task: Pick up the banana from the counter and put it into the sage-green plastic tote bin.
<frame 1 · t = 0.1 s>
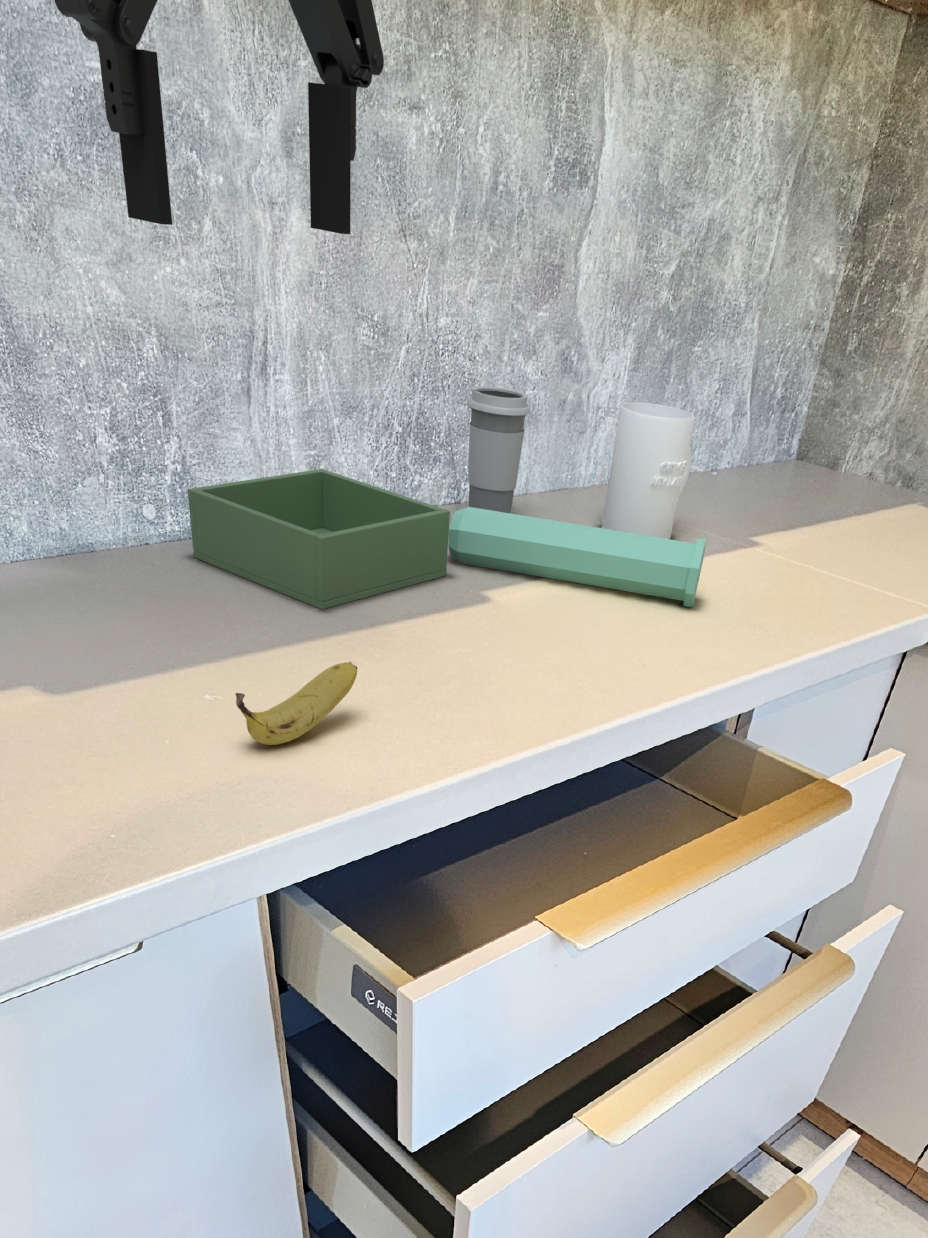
hand: (247, 227, 58), 25 cm above the countertop, tool pointing down, fingers open, 13 cm apart
banana: (299, 738, 68), on the countertop
mug: (645, 534, 116), on the countertop
bin: (322, 566, 94), on the countertop
cup: (488, 521, 113), on the countertop
container: (568, 582, 99), on the countertop
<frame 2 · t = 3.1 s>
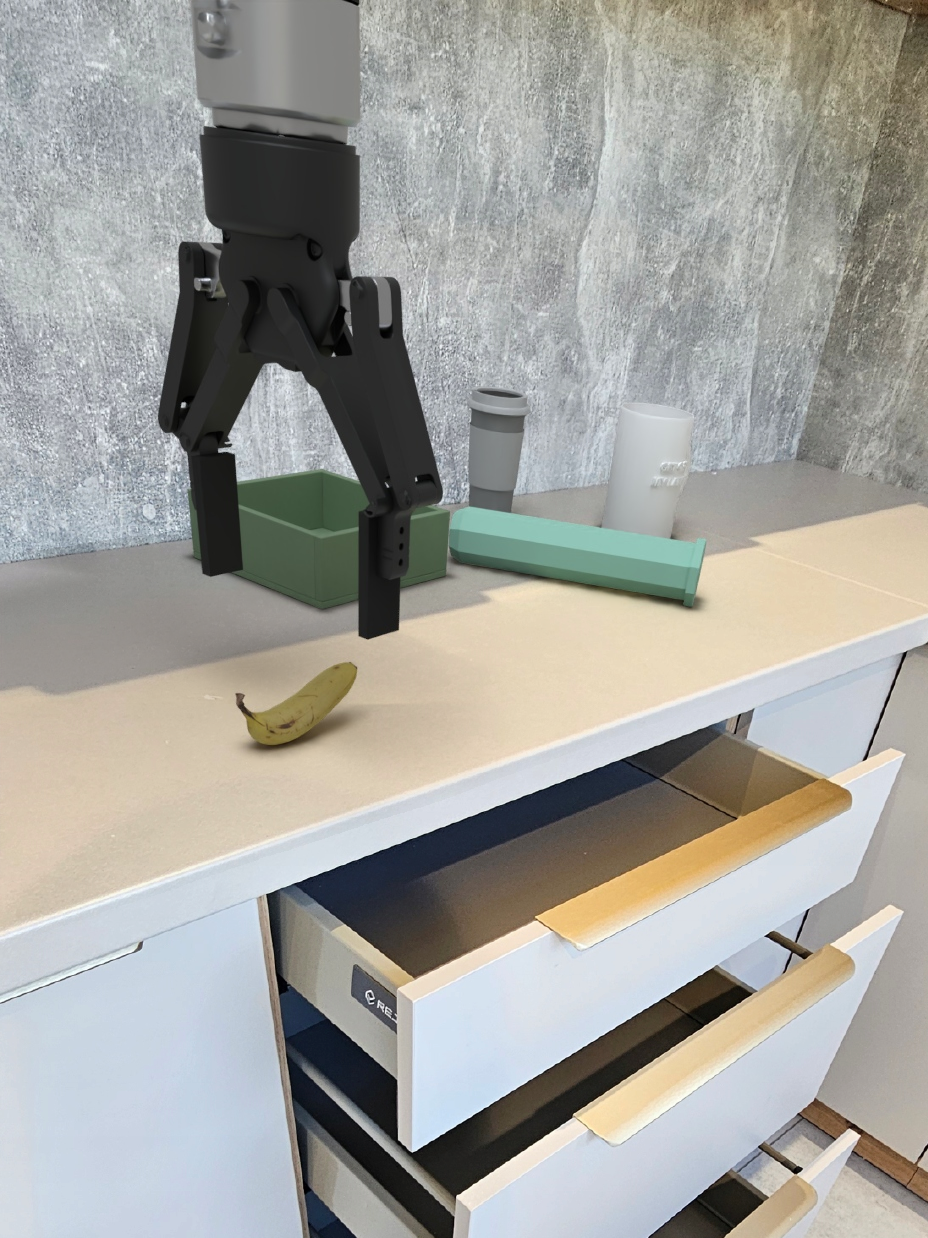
hand: (297, 602, 62), 9 cm above the countertop, tool pointing down, fingers open, 13 cm apart
nothing on the countertop moved.
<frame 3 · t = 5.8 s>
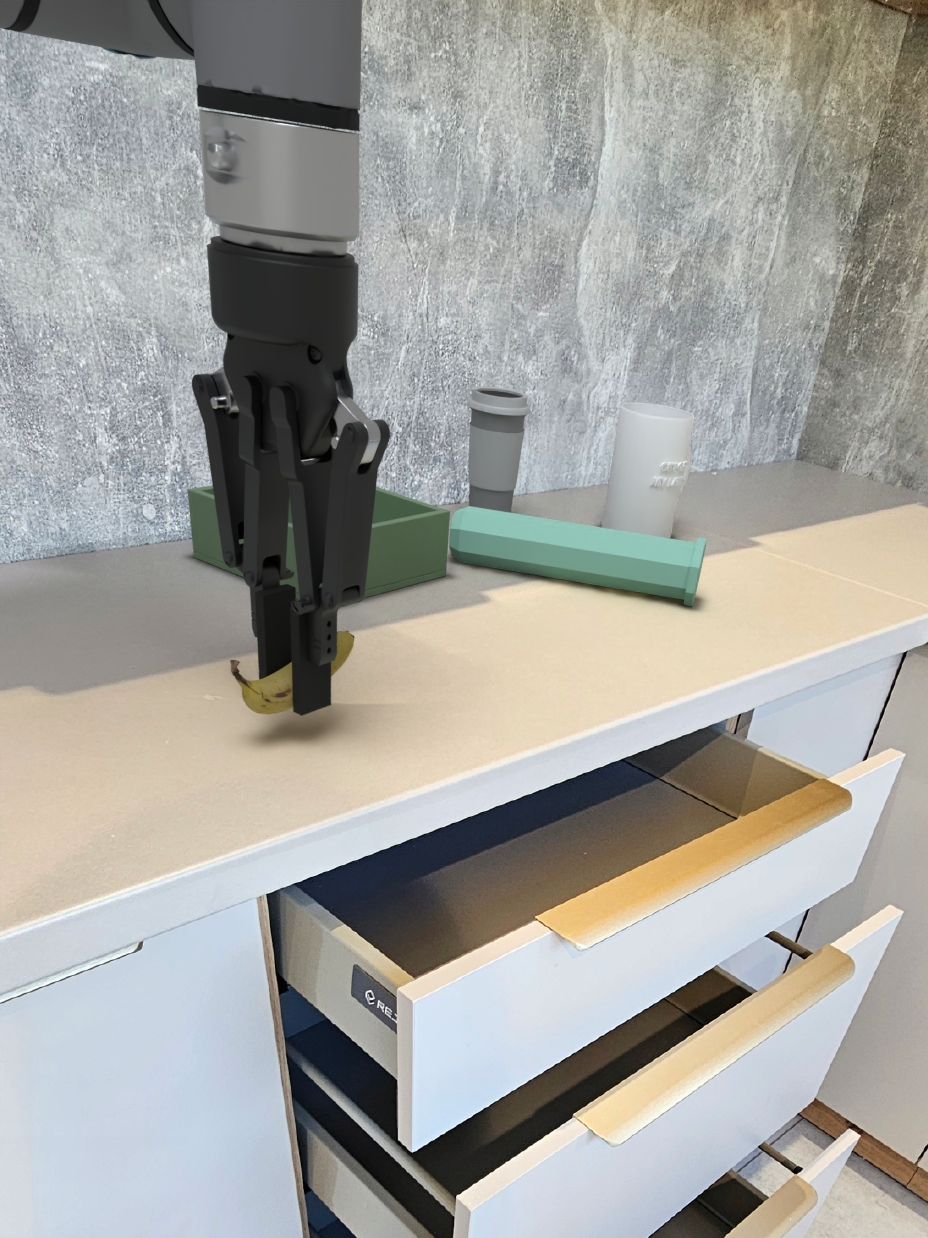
hand: (295, 699, 66), 2 cm above the countertop, tool pointing down, fingers closed on banana, 2 cm apart
banana: (295, 708, 67), point 2 cm above the countertop, touching gripper
everything else where it was.
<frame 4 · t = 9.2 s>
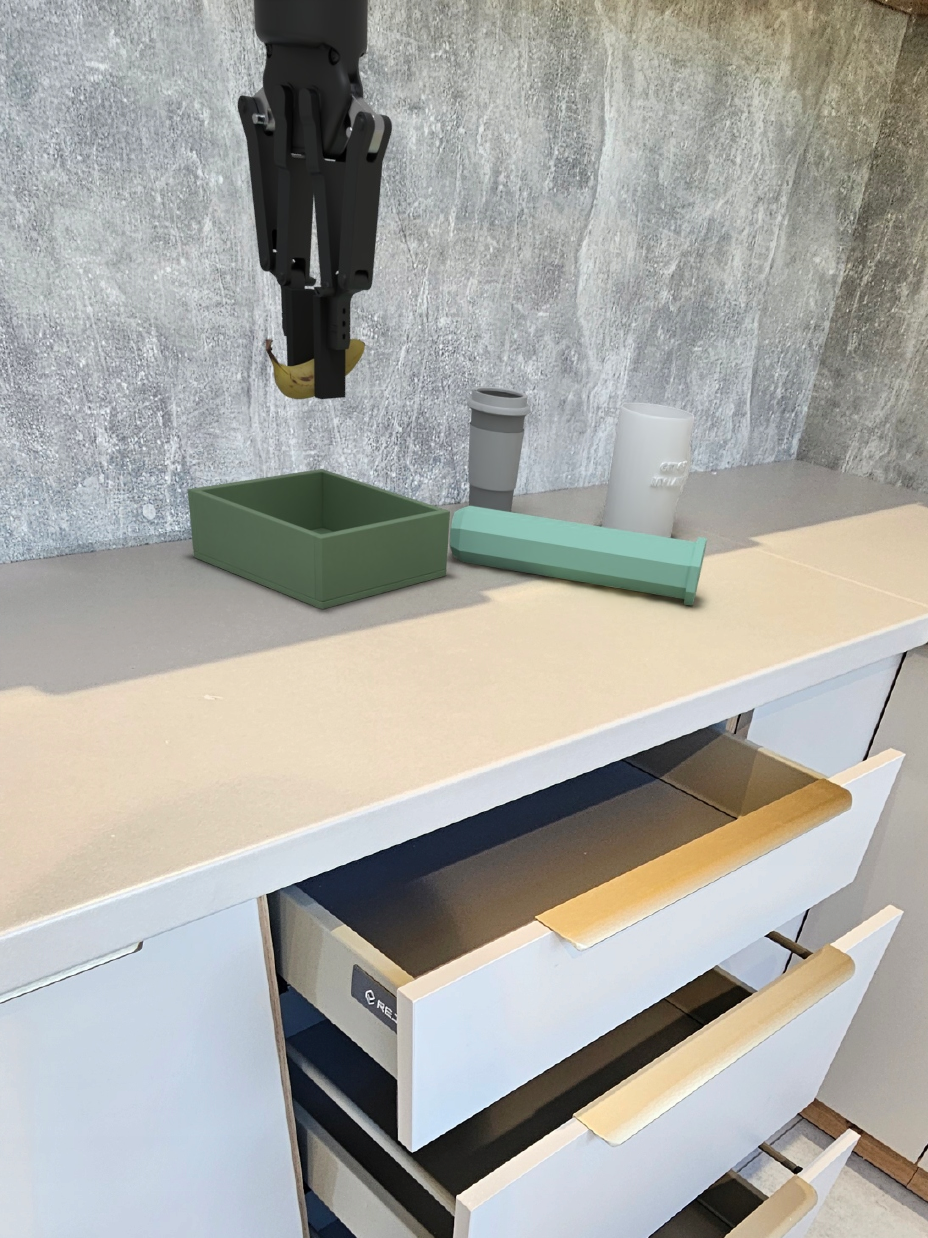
hand: (316, 392, 82), 14 cm above the countertop, tool pointing down, fingers closed on banana, 2 cm apart
banana: (316, 401, 82), point 14 cm above the countertop, touching gripper
everything else where it was.
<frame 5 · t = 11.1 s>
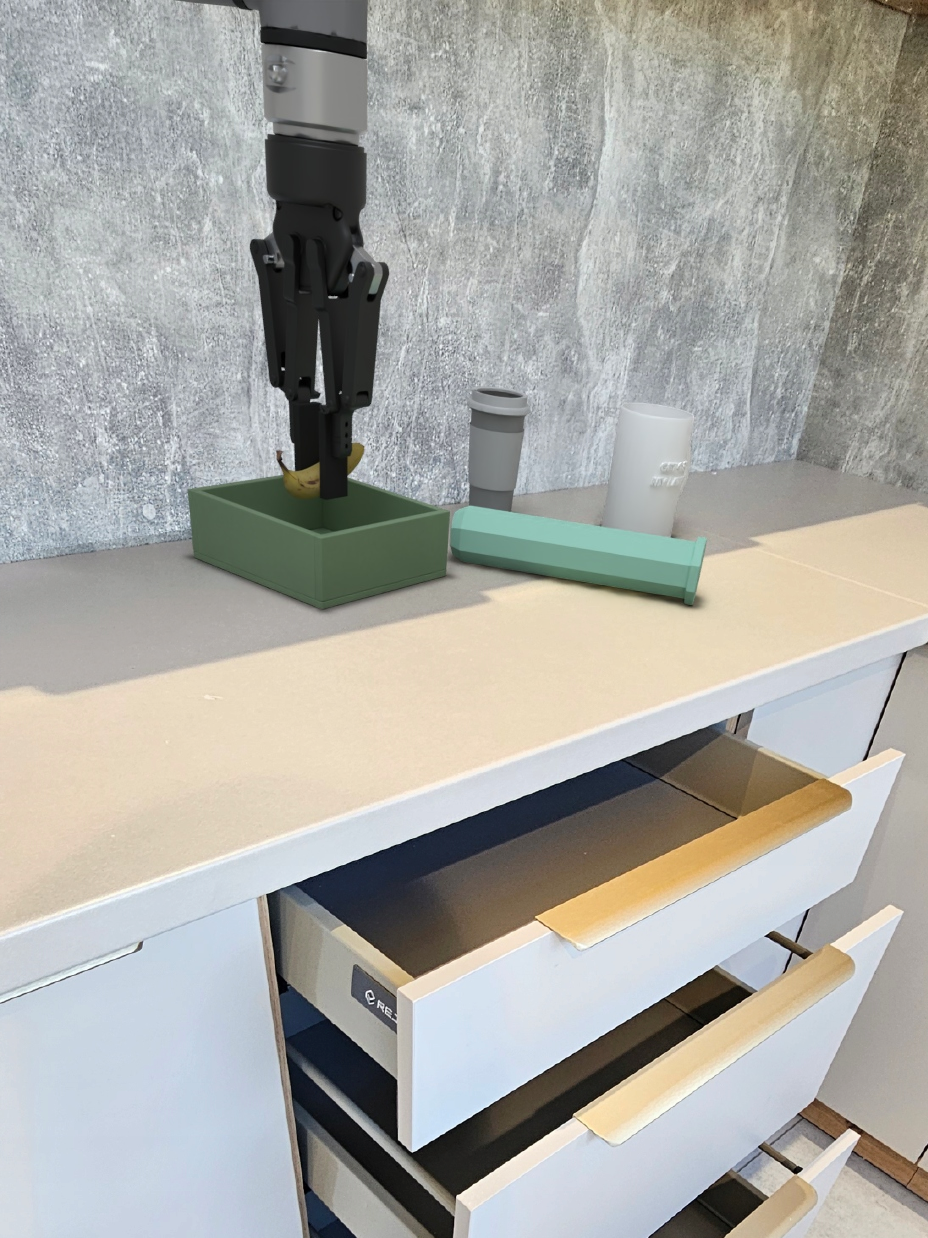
hand: (321, 492, 90), 6 cm above the countertop, tool pointing down, fingers closed on banana, 2 cm apart
banana: (321, 499, 91), point 6 cm above the countertop, touching gripper
everything else where it was.
when the fingers open (3 cm above the countertop, at t = 12.4 s): banana drops 2 cm, resting on bin.
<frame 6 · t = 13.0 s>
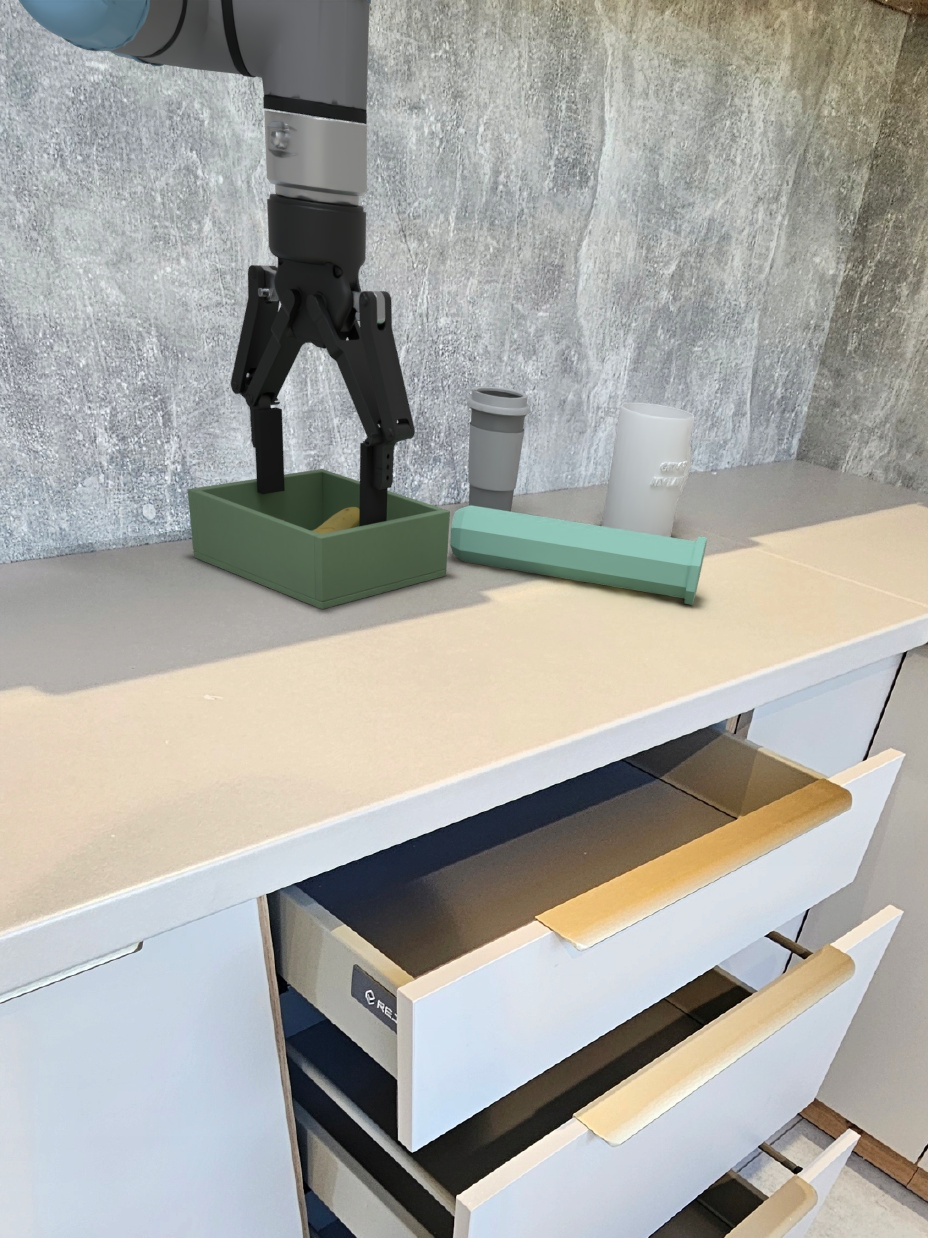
hand: (320, 509, 91), 5 cm above the countertop, tool pointing down, fingers open, 12 cm apart
banana: (321, 562, 94), resting on bin
everything else where it was.
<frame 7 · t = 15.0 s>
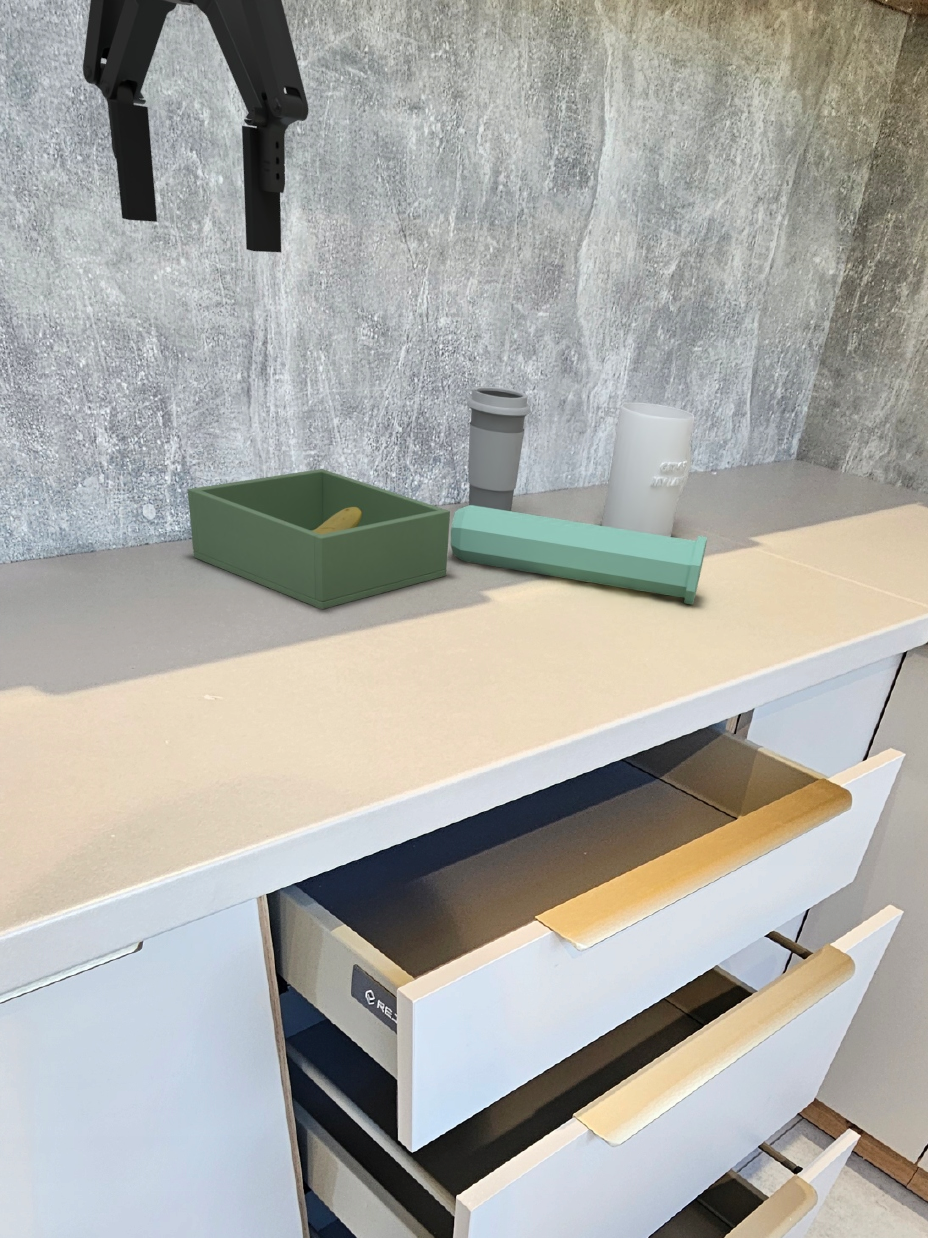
hand: (199, 236, 75), 23 cm above the countertop, tool pointing down, fingers open, 13 cm apart
nothing on the countertop moved.
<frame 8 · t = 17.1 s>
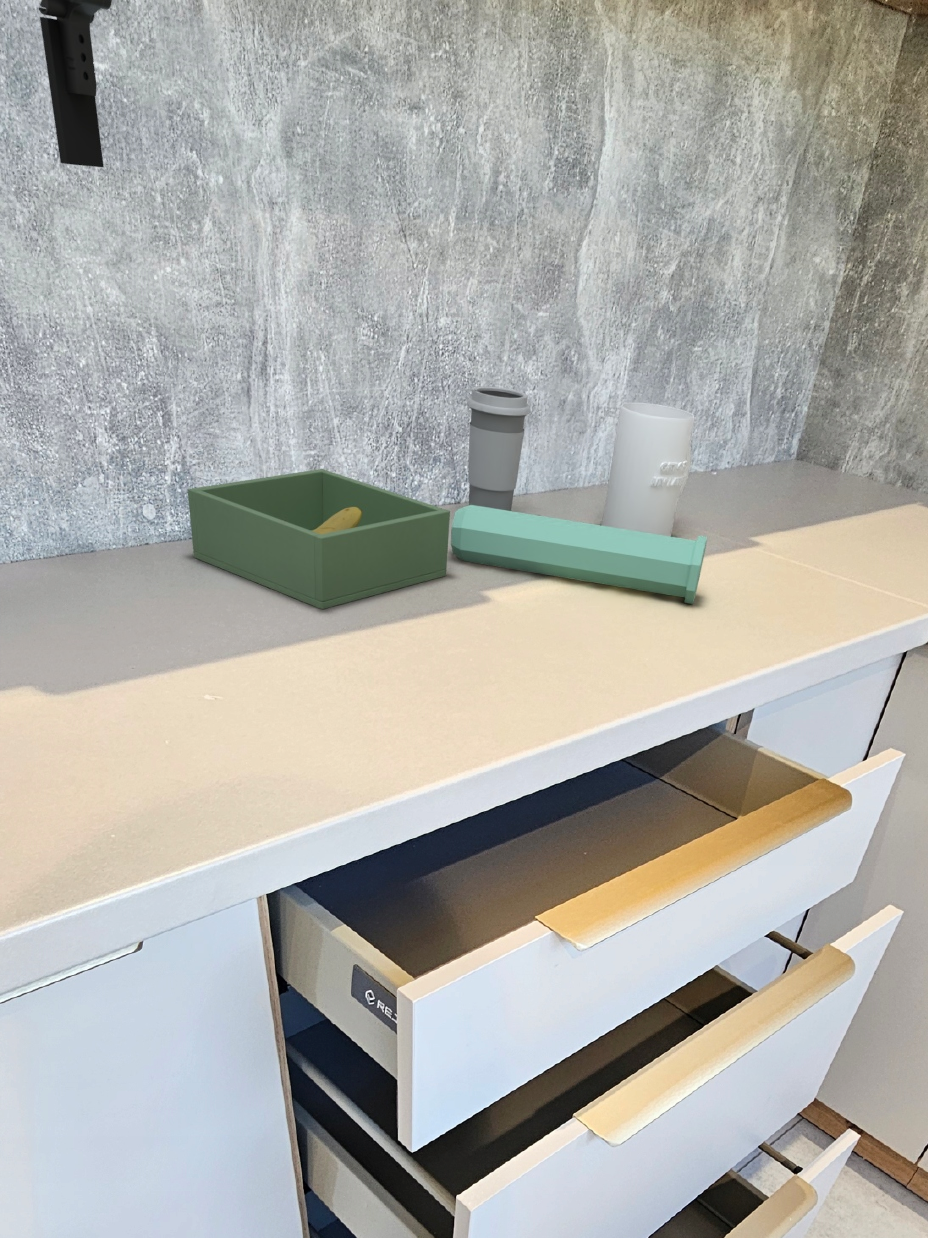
hand: (20, 154, 68), 27 cm above the countertop, tool pointing down, fingers open, 13 cm apart
nothing on the countertop moved.
at the end: banana inside the target area in the bin (0.1 cm from its centre), point 0.4 cm above the bin's base; the gripper is holding nothing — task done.
